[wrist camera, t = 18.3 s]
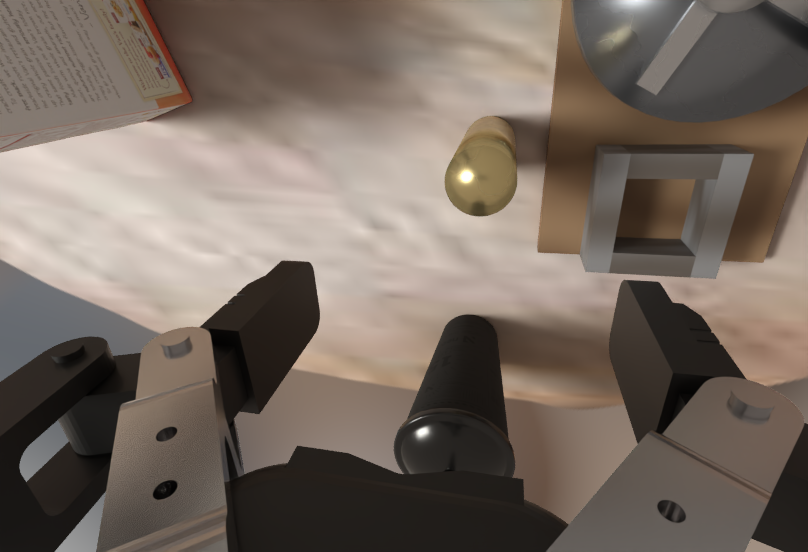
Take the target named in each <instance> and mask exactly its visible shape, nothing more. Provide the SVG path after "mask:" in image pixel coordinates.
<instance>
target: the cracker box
mask: <svg viewBox="0 0 808 552" xmlns="http://www.w3.org/2000/svg"><path fill="white" fill-rule="evenodd" d="M190 102H192V98H191V96H190V94H189V92H188V90H187V88H186V86H185V84H184V82H183V80H182V78H181V76H180V74H179V72H178V70H177V67H176V65H175V63H174V61H173V59H172V57H171V55H170V53H169V51H168V49H167V47H166V45H165V43H164V41H163V39H162V37H161V35H160V33H159V31H158V29H157V27H156V25H155V23H154V21H153V19H152V17H151V15H150V13H149V11H148V9H147V7H146V5H145V3H144V1H143V0H0V152H5V151H10V150H14V149H19V148H24V147H29V146H33V145H38V144H43V143H48V142H52V141H57V140H61V139H65V138H70V137H75V136H80V135H85V134H90V133H94V132H99V131H104V130H109V129H115V128H120V127H124V126H128V125H132V124H136V123H141V122H145V121H147V120H149V119H152V118H154V117H157V116H159V115H161V114H164V113H166V112H168V111H171V110H173V109H175V108H178V107H180V106H182V105H185V104H187V103H190Z"/></svg>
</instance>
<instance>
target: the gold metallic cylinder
mask: <svg viewBox="0 0 808 552" xmlns="http://www.w3.org/2000/svg"><path fill="white" fill-rule="evenodd" d="M516 187H517V167H516V146H515V135H514V132H513V129H512V128H511V126H510V125H509V124H508V123H507V122H506V121H505V120H503V119H501V118H499V117H495V116H487V117H483V118H480V119H478V120H477V121H475V122H474V123H473V124H472V125H471V126H470V127H469V129H468V131H467V132H466V134H465V136H464V138H463V140H462V142H461V144H460V146H459V147H458V149H457V151H456V153H455V155H454V157H453V159H452V160H451V162H450V164H449V166H448V168H447V171H446V175H445V189H446V192H447V195H448V197H449V199H450V201H451V202H452V203H453V205H454V206H455V207H457V208H458V209H459V210H461V211H462V212H464V213H466V214H469V215H473V216H488V215H491V214H494V213H497V212H498V211H500V210H502V209H503V208H504V207H505V206H506V205H507V204H508V203H509V202H510V201H511V199H512V197H513V196H514V193H515V191H516Z"/></svg>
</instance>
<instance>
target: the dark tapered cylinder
mask: <svg viewBox="0 0 808 552" xmlns="http://www.w3.org/2000/svg"><path fill="white" fill-rule="evenodd" d="M394 454H395V458H396V461H397V464H398V466H399V467H400V469H401V471H402V472H403V473H404V474H419V473H433V472H447V471H461V470H464V471H471V472H477V473H484V474H491V475H498V476H504V477H511V478H512V477H513V474H514V470H515V454H514V450H513V448H512V445H511V444H510V441H509V439H508V429H507V421H506V412H505V404H504V394H503V385H502V376H501V368H500V359H499V350H498V341H497V335H496V332H495V329H494V328H493V326H492V325H491V324H490V323H489V322H488V321H486V320H485V319H483V318H481V317H478V316H474V315H462V316H458V317H456V318H454V319H452V320H451V321H450V322H448V324H447V325H446V326H445V328H444V331H443V333H442V336H441V338H440V341H439V343H438V345H437V348H436V350H435V353H434V355H433V358H432V360H431V362H430V365H429V367H428V370H427V372H426V374H425V377H424V379H423V382H422V384H421V387H420V389H419V391H418V394H417V396H416V399H415V402H414V404H413V406H412V409H411V411H410V413H409V416H408V419H407V420H406V421H405V422H404V423H403V424H402V426H401V427H400V429H399V430H398V432H397V435H396V438H395V441H394Z"/></svg>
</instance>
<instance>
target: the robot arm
mask: <svg viewBox="0 0 808 552" xmlns="http://www.w3.org/2000/svg"><path fill="white" fill-rule="evenodd" d="M319 320H320V310H319V303H318V296H317V289H316V283H315V276H314V270H313V267H312V265H311V263H310V262H302V261H281V262H280V263H279V264H278V265H277V266H276V267H274V268H273V269H272V270H271V271H270V272H269V273H268V274H267V275H266V276H263V277H261V278H259V279H257V280H255V281H253V282H251V283H249V284H247V285H246V286H245V287H244V288H243V289H242V290H241V291H240V292H239V293H237V296H234V297H233V298H232V299H231V300H230V301H228V304H225V305H224V306H223V307H222V308H221V309H219V310H218V311H217V312H216V313H215V314H214V315H213V316H212V317H210V318H209V319H208V320H207V321H206V322H205V323H204V324H203V325H201V326H200V327H185V328H179V329H175V330H171V331H168V332H166V333H163V334H161V335H159V336H157V337H156V338H154V339H153V340H151V341H150V342H149V343H147V344H146V345H145V347H144V348H143V350H142V352H141V353H136V354H128V355H118V356H113V355H112V353H111V350H110V348H109V345H108V343H107V341H106V340H105V339H103V338H100V337H83V338H78V339H73V340H70V341H66V342H64V343H61V344H58V345H56V346H54V347H52V348H50V349H48V350H47V351H45V352H43V353H42V354H40V355H39V356H37V357H36V358H34V359H33V360H32V361H30V362H29V363H28V364H26V365H24V366H23V367H21V368H20V369H19V370H17V371H16V372H14V373H13V374H11V375H10V376H8V377H7V378H6V379H4V380H3V381H1V382H0V552H55V550H56V549H57V548H58V547H59V546H60V544H61V543H62V542H63V541H64V540H65V539H66V537H67V536H68V535H69V534H70V533H71V531H72V530H73V529H74V528H75V527H76V525H77V524H78V523H79V522H80V521H81V520H82V519H83V517H84V516H85V515H86V514H87V513H88V512H89V510H90V509H91V508H92V507H93V506H94V504H95V503H96V502H97V501H98V500H99V499H100V497H101V496H102V495H103V494H104V493H105V492H106V495H105V501H104V508H103V514H102V520H101V526H100V532H99V538H98V544H97V550H96V552H745V550H746V548H747V545H748V543H749V541H750V539H751V538H752V539H754V540H757V541H759V542H761V543H764V544H766V545H769V546H771V547H774V548H776V549H779V550H781V551H784V552H808V424H806V423H804V417H803V415H802V413H801V412H800V410H799V409H798V408H797V407H796V406H795V405H794V404H793V403H792V402H791V401H790V400H789V399H787V398H786V397H785V396H783V395H782V394H780V393H778V392H776V391H775V390H773V389H771V388H769V387H767V386H764V385H762V384H759V383H756V382H754V381H750V380H747V379H746V378H745V376H744V375H743V374H742V372H741V371H740V369H739V368H738V367H737V365H736V364H735V362H734V361H733V360H732V358H731V357H730V355H729V354H728V353H727V351H726V350H725V348H724V347H723V346H722V345H720V341H719V340H718V339H717V337H716V336H715V335H714V333H711V329H710V328H709V326H708V325H707V323H706V322H705V321H704V319H703V318H702V316H700V315H699V314H697V313H696V312H694V311H693V310H691V309H690V308H689V307H687V306H686V305H684V304H680V303H672V301H671V300H670V298H669V296H668V295H667V293H666V292H665V290H664V289H663V287H662V285H661V284H660V283H659V282H652V281H634V280H623V282H622V283H621V285H620V289H619V293H618V298H617V303H616V308H615V313H614V318H613V323H612V328H611V333H610V342H609V351H610V359H611V362H612V365H613V369H614V372H615V375H616V378H617V381H618V384H619V387H620V390H621V393H622V397H623V400H624V403H625V406H626V409H627V412H628V415H629V418H630V421H631V424H632V428H633V431H634V434H635V437H636V440H637V443H638V445H637V446H636V447H635V448H634V449H633V450H632V452H631V453H630V454H629V455H628V456H627V457H626V459H625V460H624V461H623V462H622V463H621V464H620V466H619V467H618V468H617V469H616V470H615V472H614V473H613V474H612V475H611V476H610V477H609V478H608V480H607V481H606V482H605V483H604V484H603V486H602V487H601V488H600V489H599V490H598V491H597V493H596V494H595V495H594V496H593V497H592V498H591V500H590V501H589V502H588V503H587V504H586V506H585V507H584V508H583V509H582V510H581V511H580V513H579V514H578V515H577V516H576V517H575V518H574V519H573V521H572V522H571V523H570V524H569V525H568V524H567V523H566V522H565V521H563V520H562V519H560V518H559V517H557V516H556V515H554V514H553V513H551V512H549V511H547V510H546V509H544V508H542V507H540V506H538V505H536V504H534V503H531V502H529V501H527V500H524V487H523V479H518V478H511V477H504V476H498V475H491V474H484V473H477V472H471V471H464V470H461V471H447V472H433V473H419V474H398V473H395V472H393V471H390V470H388V469H385V468H383V467H381V466H378V465H375V464H373V463H371V462H368V461H366V460H363V459H361V458H359V457H356V456H354V455H351V454H349V453H343V452H335V451H329V450H323V449H316V448H308V447H302V446H297V447H296V449H295V451H294V453H293V455H292V456H291V458H290V460H289V462H288V463H286V464H278V465H273V466H268V467H264V468H261V469H257V470H255V471H252V472H249V473H247V474H245V472H244V466H243V460H242V454H241V449H240V442H239V436H238V431H237V426H236V423H235V419H234V418H235V416H236V415H237V414H238V412H239V411H240V412H248V413H255V414H260V412H261V411H262V410H263V408H264V407H265V405H266V404H267V402H268V401H269V399H270V398H271V396H272V395H273V394H274V392H275V391H276V389H277V388H278V386H279V385H280V383H281V382H282V381H283V379H284V378H285V376H286V375H287V373H288V372H289V370H290V369H291V368H292V366H293V365H294V363H295V362H296V360H297V359H298V357H299V356H300V355H301V353H302V352H303V350H304V349H305V347H306V346H307V344H308V343H309V342H310V340H311V339H312V337H313V336H314V334H315V333H316V331H317V328H318V325H319ZM57 420H58V421H59V423H60V425H61V427H62V428H63V431H64V432H65V434H66V436H67V438H68V440H69V442H68V443H67V444H66V445H65V446H64V447H63V448H62V449H61V450H60V451H59V452H57V453H56V454H55V455H54V456H53V457H52V458H51V459H50V460H49V461H48V462H47V463H46V464H45V465H44V466H43V467H42V468H41V469H40V470H39V471H38V472H36V474H34V475H33V476H32V477H31V478H30V479H29V480H28V481H27V482H26V481H25V480H24V478H23V477H22V475H21V473H20V469H19V464H20V459H21V457H22V454H23V452H24V451H25V449H26V448H27V447H28V446H29V445H30V444H31V443H32V442H33V441H34V440H35V439H36V438H38V437H39V436H40V435H41V434H42V433H43V432H44V431H46V430H47V429H48V428H49V427H50V426H51V425H52V424H54V423H55V422H56V421H57Z"/></svg>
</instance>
